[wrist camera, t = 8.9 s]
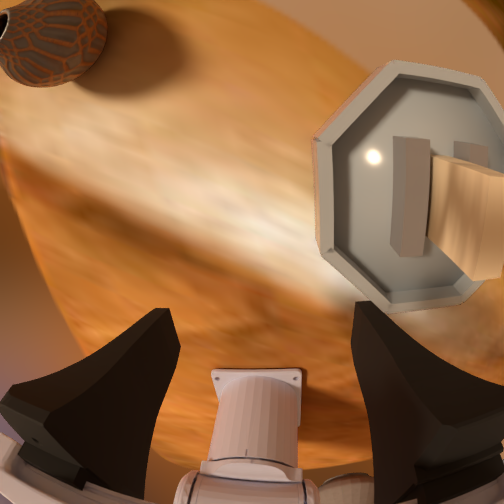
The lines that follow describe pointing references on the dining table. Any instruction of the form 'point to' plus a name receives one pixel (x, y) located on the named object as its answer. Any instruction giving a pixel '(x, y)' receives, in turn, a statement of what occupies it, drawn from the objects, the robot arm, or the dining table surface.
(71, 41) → the vase
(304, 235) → the dining table surface
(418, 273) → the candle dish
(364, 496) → the coffee pot
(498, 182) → the pine wood chunk
